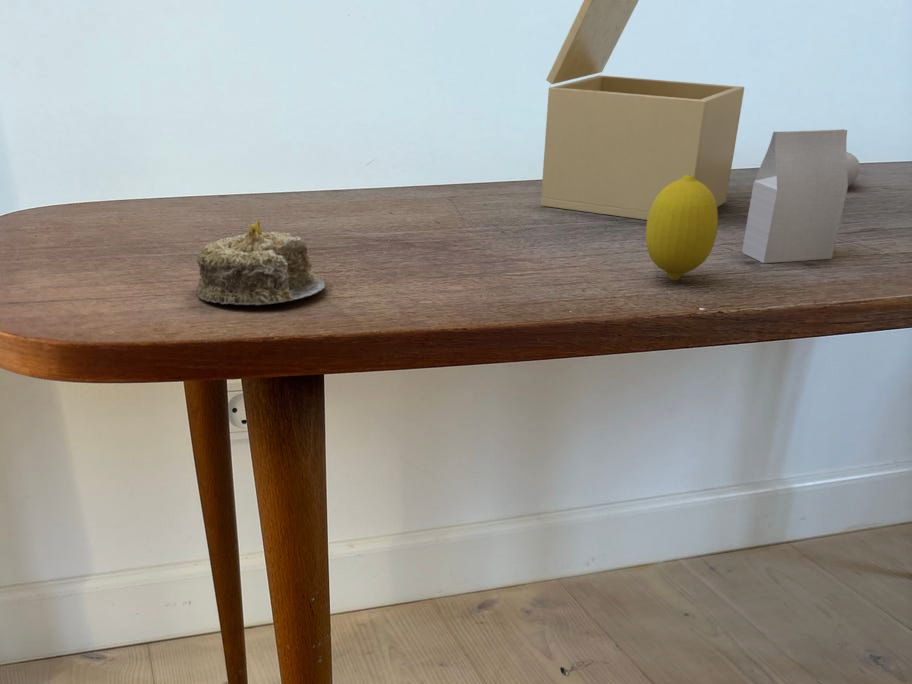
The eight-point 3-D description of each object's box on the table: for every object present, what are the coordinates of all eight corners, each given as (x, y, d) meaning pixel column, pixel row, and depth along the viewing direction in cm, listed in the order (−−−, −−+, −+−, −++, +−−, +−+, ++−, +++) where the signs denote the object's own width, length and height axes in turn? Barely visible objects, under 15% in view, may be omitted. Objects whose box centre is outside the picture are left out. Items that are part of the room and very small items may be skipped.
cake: (183, 317, 78) (168, 241, 75) (213, 281, 86) (200, 211, 83) (316, 310, 77) (306, 233, 74) (333, 274, 85) (325, 204, 82)
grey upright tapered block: (831, 258, 92) (859, 133, 86) (763, 263, 90) (787, 135, 85) (808, 248, 95) (833, 126, 89) (741, 252, 93) (763, 128, 88)
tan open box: (726, 202, 110) (744, 86, 104) (687, 225, 101) (705, 101, 95) (588, 184, 117) (598, 75, 111) (540, 205, 108) (548, 87, 102)
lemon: (633, 284, 85) (646, 178, 80) (647, 267, 89) (661, 165, 84) (702, 293, 83) (719, 184, 78) (713, 275, 87) (730, 171, 83)
